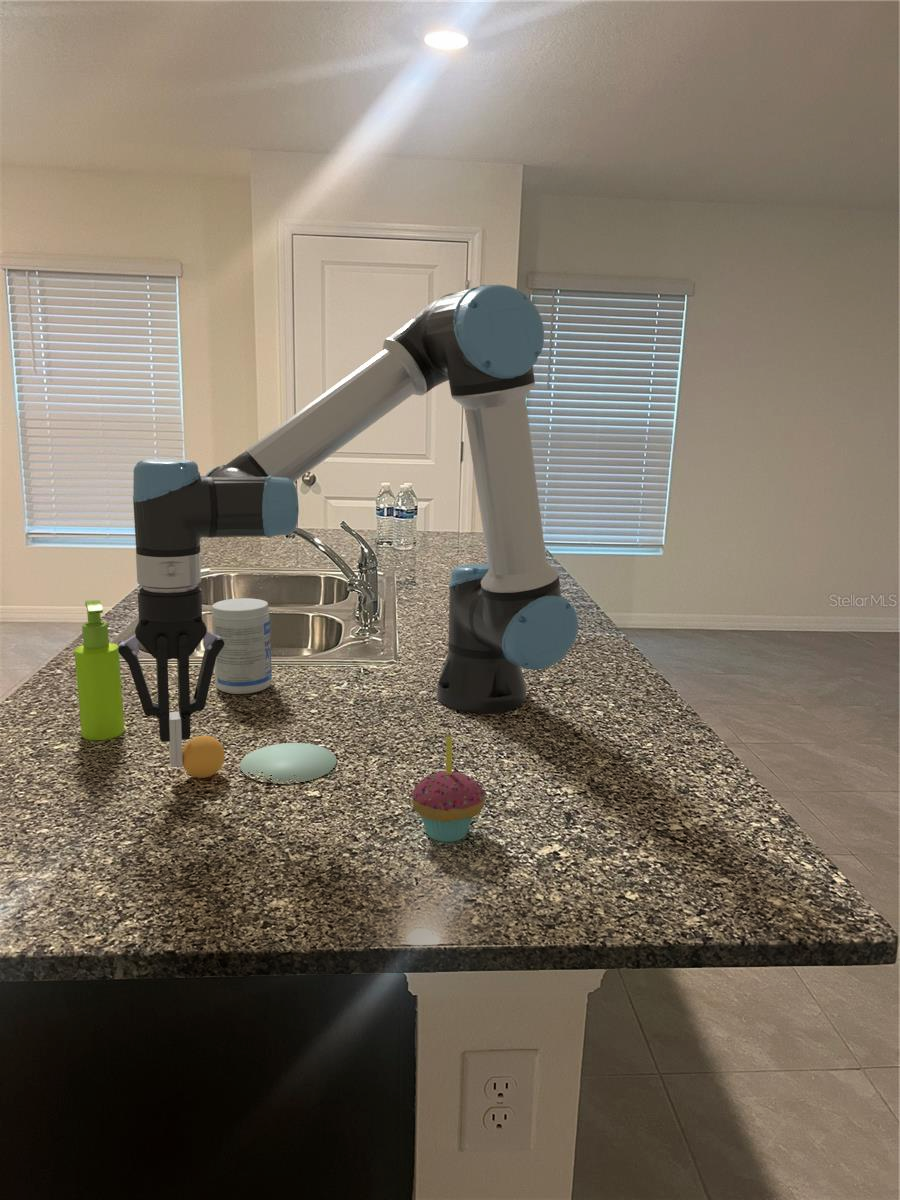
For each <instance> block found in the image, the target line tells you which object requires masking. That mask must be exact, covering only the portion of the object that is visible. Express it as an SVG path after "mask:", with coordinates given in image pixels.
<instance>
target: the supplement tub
mask: <svg viewBox="0 0 900 1200" xmlns="http://www.w3.org/2000/svg"><path fill="white" fill-rule="evenodd" d="M211 609H212V611H211V629H212V633H213V634H215V635H216V634H219V635H220V636H221V637H222V639H223V641H224V646H223V648H222V649H221V651H220V652H219V654H218V655H217V657H216V661H215V665H214V679H215V681H214V683H215V686H216V688H217V689H218V690H219V691H221V692H224V693H226V694H232V695H233V694H234V695H247V694H254V693H258V692H262V691H264V690H265V689H268V688H269V687H270V686H271V685H272V682H273V673H272V672H273V671H272V669H273V667H272V646H271V644H272V643H271V641H272V640H271V619H270V618H271V617H270V610H269V603H268V601H266V600H263V599H258V598H250V597H249V598H248V597H247V598H246V597H245V598H244V597H243V598H230V599H229V598H228V599H223V600H220V601H216V602H215V603H213V604H212V608H211Z"/></svg>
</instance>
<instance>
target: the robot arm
mask: <svg viewBox="0 0 900 1200" xmlns="http://www.w3.org/2000/svg"><path fill="white" fill-rule="evenodd" d="M544 342H545V328H544V323H543V319H542V317H541V315H540V312H539V310H538V308H537V306H536V305H535V304H534V302H533V301H532V300H531V298H529V297H528V296H527V295H526V294H524V292H522V291H521V290H519V289H517V288H515V287H512V286H509V285H505V284H482V285H480V286H479V285H478V286H476V287H472V288H468V289H465V290H461V291H459V292H453V293H449V294H445V295H443V296H441V297H439V298H437V299H435V300H434V301H432V302H430V303H429V304H428V305H427V306H425V308H423V309H422V310H421V311H420V312H418V313H417V314H416V315H415V316H413V317H412V318H411V319H410V320H409V321H407V322H406V323H404V325H402V326H401V327H399V329H397V330H396V331H395V332H394V333H392V334H391V335H389V336H388V337H387V338H385V339H384V341H383V344H382V350H381V351H380V352H379V353H376V355H375V356H373V357H372V358H371V359H368V361H366V362H365V363H363V364H362V365H361V366H359V367H358V368H357V369H355V370H354V371H352V372H351V373H350V374H348V375H347V376H346V377H344V378H343V379H342V380H341V381H339V382H337V383H336V384H334V385H333V386H332V387H330V388H329V389H328V390H327V391H325V392H323V394H321V395H320V396H318V397H317V398H316V399H314V400H313V401H311V402H310V403H309V404H308V405H305V407H303V408H302V409H299V411H298V412H296V413H295V414H293V416H291V417H289V418H288V419H287V420H285V421H284V422H283V423H281V424H280V425H279V426H277V427H276V428H274V429H273V430H272V431H270V432H269V433H268V434H266V435H264V437H262V438H260V440H259V439H258V441H257V442H255V443H254V444H253V445H251V446H250V447H247V449H246V450H245V451H244V452H243V453H241V454H239V455H238V456H236V457H235V458H233V459H232V460H231V461H229V462H228V463H227V464H223V465H222V464H221V465H219V466H216V467H214V468H212V469H211V470H209V471H207V473H206V474H205V475H201V472H200V471H199V466H198V464H197V462H195V461H194V460H191V459H190V460H189V459H173V458H172V459H171V458H149V459H142V460H140V461H138V462H137V463H136V464H135V466H134V468H133V492H132V494H133V496H132V501H133V502H132V503H133V518H134V521H133V522H134V523H133V524H134V534H135V536H134V537H135V560H136V561H135V564H136V581H137V584H138V585H139V586H141V587H139V589H138V590H137V604H138V605H137V607H138V609H137V611H138V621H137V622H138V623H137V625H136V627H135V629H134V634H133V635H131V636H130V637H129V638H127V639H126V640H124V639H123V640H120V641H119V642H118V643H117V645H118V652H119V656H121V657H122V658H123V659H124V661H125V662H126V663H127V665H128V667H129V671H130V674H131V676H132V680H133V683H134V685H135V686H134V687H135V690H136V691H137V695H138V699H139V701H140V704H141V707H142V709H143V713H144V715H145V716H146V717H156V718H157V719H158V730H159V731H158V732H159V739H160V741H161V743H166V742H168V754H169V756H168V760H169V764H170V768H178V767H179V768H180V767H183V762H182V750H183V740H189V739H190V737H191V717H192V716H191V715H193V714H194V713H196V712H201V711H203V710H205V707H206V702H207V698H208V694H209V690H210V686H211V685H210V684H211V682H212V677H213V673H214V671H215V666H214V665H215V661H216V657H217V655H218V654H219V652H220V651H221V649H222V648H223V646H224V641H223V639H222V637H221V636H220V635H219V634H216V635H215V634H213V632H211V631H209V630H208V628H207V626H206V624H205V622H204V620H203V598H202V597H203V593H202V592H203V591H202V588H201V587H200V586H199V583H201V582H202V572H201V570H202V569H201V568H202V567H201V539H202V538H208V539H210V538H211V539H212V538H220V537H221V538H239V537H241V538H244V537H245V538H246V537H248V538H249V537H250V538H251V537H253V538H255V537H263V538H264V537H266V538H272V537H277V536H288V535H291V534H293V533H294V532H295V530H296V528H297V526H298V521H299V512H300V510H299V508H300V507H299V497H298V496H299V495H298V490H297V487H296V484H295V482H297V481H298V480H300V479H301V478H303V477H304V476H305V475H306V474H308V473H309V472H310V471H312V470H313V469H314V468H316V467H317V466H318V465H320V464H321V463H322V462H324V461H325V460H326V459H328V458H329V457H331V456H332V455H333V454H334V453H336V452H337V451H339V450H340V449H341V448H343V447H344V446H346V445H347V444H348V443H350V441H352V440H353V439H355V438H356V437H357V436H358V435H360V434H361V433H363V432H364V431H365V430H367V429H368V428H369V427H371V426H372V425H374V423H377V422H378V421H379V420H380V419H382V418H383V417H384V416H386V415H388V414H389V413H390V412H391V411H392V410H394V409H395V408H396V407H398V406H399V405H401V403H403V402H404V401H406V400H407V399H408V398H410V397H411V396H413V395H415V396H420V397H421V396H424V395H426V394H427V393H428V392H429V391H431V390H432V389H434V388H436V387H437V386H439V385H441V384H443V383H445V382H448V384H449V390H450V396H451V399H453V400H454V401H456V402H457V404H460V406H461V407H463V408H464V416H465V422H466V429H467V435H468V441H469V449H470V454H471V460H472V467H473V474H474V480H475V485H476V486H475V488H476V494H477V501H478V508H479V513H480V519H481V527H482V532H483V533H482V534H483V539H484V546H485V552H486V553H485V555H486V559H487V563H469V564H461V565H458V566H456V567H454V568H453V569H452V571H451V573H450V578H449V579H450V582H449V585H448V590H449V603H448V604H449V605H448V606H449V607H448V608H449V609H448V610H449V611H448V612H449V613H448V614H449V615H448V652H447V656H446V657H445V658H446V659H445V661H444V664H443V666H442V669H441V673H440V675H439V678H438V681H437V684H436V685H437V687H436V690H437V691H436V697H437V700H439V702H440V703H441V704H443V705H445V706H447V707H449V708H452V709H455V710H459V711H462V712H470V713H477V714H478V713H480V714H482V713H483V714H490V713H493V714H494V713H495V714H496V713H502V712H508V711H512V710H515V709H518V708H520V707H522V706H523V705H524V704H525V703H526V700H527V685H526V681H525V676H524V673H523V669H526V670H531V671H532V670H533V671H538V670H545V669H548V668H551V667H553V666H554V665H556V664H557V663H559V662H560V661H561V660H563V659H564V658H565V657H566V656H567V653H568V652H569V650H570V649H572V647H573V646H574V644H575V642H576V640H577V636H578V632H579V617H578V614H577V612H576V609H575V608H574V606H573V605H572V604H571V603H570V601H569V600H567V599H566V598H564V597H562V590H561V582H560V576H559V575H560V574H559V570H558V569H557V568H555V567H554V566H553V565H551V564H550V563H548V561H547V557H546V556H547V555H546V548H545V541H544V540H545V539H544V531H543V524H542V517H541V508H540V501H539V495H538V494H539V491H538V486H537V479H536V476H537V475H536V471H535V470H536V469H535V462H534V455H533V446H532V438H531V437H532V436H531V431H530V423H529V415H528V407H527V401H526V400H527V396H528V395H529V393H530V392H531V390H532V389H533V387H534V386H535V384H536V382H535V381H536V380H535V373H534V371H535V370H534V365H535V364H536V363H537V361H538V359H539V355H540V354H542V351H543V348H544V345H545V344H544ZM202 640H203V643H202V644H203V647H204V651H203V656H202V660H201V663H200V664H201V665H200V669H199V673H198V676H197V682H196V685H195V691H194V695H193V698H192V699H191V694H190V689H191V687H190V657H191V656H192V654H193V653H194V651H195V650H196V649H197V648H198V646H199V645H200V644H201V642H202ZM140 644H141V645H142V646H143V648H145V650H146V651H147V652H148V653H149V654H150V655H151V656H152V657H153V658H154V659H155V662H156V665H155V666H156V668H155V669H156V687H157V688H156V690H157V693H156V694H157V703H156V702H153V700H152V697H151V693H150V691H149V687H148V685H147V684H148V683H147V681H146V678H145V675H144V672H143V670H142V669H143V668H142V666H141V663H140V659H139V657H138V655H139V653H140V647H139V645H140ZM171 659H173V660H174V659H175V660H176V663H177V665H176V667H177V668H176V670H177V696H178V700H177V701H178V711H172V712H170V695H169V694H170V690H169V660H171ZM522 668H523V669H522Z"/></svg>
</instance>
